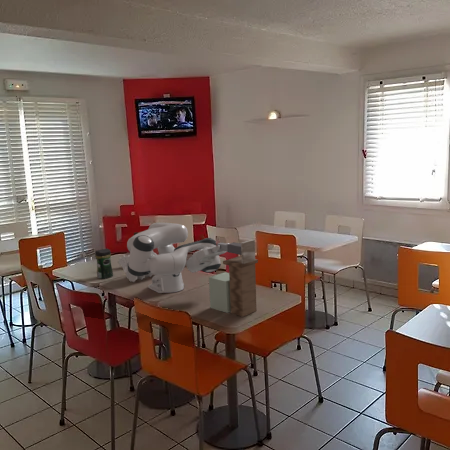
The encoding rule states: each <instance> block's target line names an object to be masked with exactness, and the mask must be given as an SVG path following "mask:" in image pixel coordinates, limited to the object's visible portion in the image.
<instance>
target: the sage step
mask: <svg viewBox="0 0 450 450" xmlns="http://www.w3.org/2000/svg"><path fill="white" fill-rule="evenodd" d="M208 289H209V290H208V291H209V308H210V309H212V310H216V311H220V312H224V313H226V314H229V313H231V303H230V279H229V272H221V273H219V274H215V275H212V276H209V277H208Z"/></svg>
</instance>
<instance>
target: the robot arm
mask: <svg viewBox="0 0 450 450" xmlns="http://www.w3.org/2000/svg"><path fill="white" fill-rule="evenodd" d="M188 236H189V230H188V228H187V226H185V225H183V224H180V223H173V222H172V223H171V222H154V223H151V224H150V225H149V227H148V229H145V230H143V231H139V232H138V234H136V235H134V234H133V235H132V236H131V237H129V238H128V240H127V242H126V248H127V250H128V252H129V262H128V272H129V273H130V274H132V275H134V276H144V275H145V276H146V275H147V274H149V273H150V272H151V273H153V274H156V275H153V274H152V278H151V283H150V284H148V286H147V288H148V289H150V290H152V291H154V292H156V293H157V294H162V293H163V294H164V293H166V294H167V293H171V294H172V293H176V292H180V291H183V290H184V288H185V287H184V286H185V283H184V281H183V275H182V274H183V273H182V272H183V270H184V269H185V267H186V268H187V270H188V271H189V272H190V273H196V272H200V271H202V272H204V273H214V272H216V271H218V270H219V268H220V267H221V265H222V263H221V258H220V255H223V254H225V253H228V252H227V251H223V250H219V249H221V245H218V246H217V241H216V240H215V239H214V238H212V237H206V238H204V239H200V240H196V241H192V242H188V243H185V242H186V241H187V239H188ZM180 243H184V244H182V245H181V244H180ZM174 244H180V245H179V246H177V247H174ZM227 244H230V243H229V242H227ZM155 249H157V251H158V254H157V255H152V253H153V252H154V250H155ZM193 251H195V252H193ZM190 252H193V253H192V255H191V256H190V257H189V258H188V259H187V257H188V253H190Z"/></svg>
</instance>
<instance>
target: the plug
mask: <svg viewBox="0 0 450 450" xmlns="http://www.w3.org/2000/svg"><path fill="white" fill-rule="evenodd" d="M227 243H228V242H227ZM227 243H226V242H218V243H217V242H216V244H217V246H218V245H221V249H219V250H223V251H227V252H226V253H231V254H236V255H239V256H242V255H241V243H242V242H235V241H234V242H231V243H229V244H227Z"/></svg>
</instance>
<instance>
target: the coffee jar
mask: <svg viewBox="0 0 450 450" xmlns="http://www.w3.org/2000/svg"><path fill="white" fill-rule="evenodd" d="M94 253H95V255H94V256H95V259H96V273H97V274H96V276H97V279H99V278H100V279H101V280H105V278H106V279H109V278H112V277H113V276H114V272H113V267H112V261H111V256H112V254H111V253H112V252H111V249H109V248H102V249H98V250H95V252H94ZM100 279H99V280H100Z"/></svg>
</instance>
